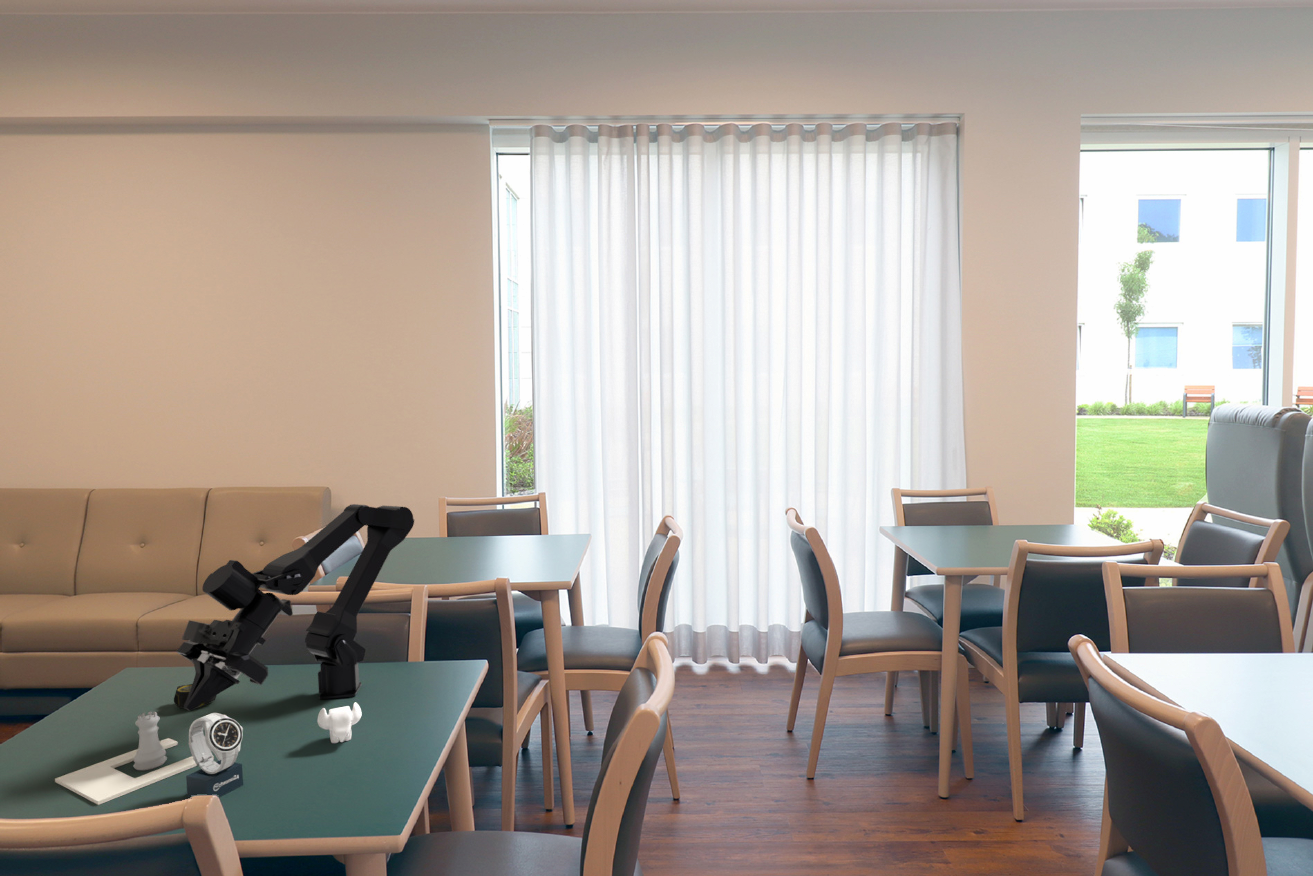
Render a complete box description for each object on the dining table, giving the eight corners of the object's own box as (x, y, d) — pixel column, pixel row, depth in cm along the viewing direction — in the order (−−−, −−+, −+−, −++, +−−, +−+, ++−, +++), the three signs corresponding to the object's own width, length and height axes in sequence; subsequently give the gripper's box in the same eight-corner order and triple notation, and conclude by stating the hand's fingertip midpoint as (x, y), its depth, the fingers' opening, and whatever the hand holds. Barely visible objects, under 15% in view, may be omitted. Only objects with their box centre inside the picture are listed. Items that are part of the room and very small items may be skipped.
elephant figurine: (319, 754, 123) (317, 717, 123) (317, 735, 131) (316, 700, 130) (364, 745, 126) (363, 709, 126) (360, 727, 134) (359, 693, 133)
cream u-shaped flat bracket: (168, 741, 130) (168, 738, 130) (213, 759, 123) (213, 755, 123) (55, 782, 117) (54, 778, 117) (98, 805, 109) (98, 801, 109)
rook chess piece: (143, 759, 124) (140, 710, 123) (173, 757, 124) (170, 708, 124) (126, 772, 119) (123, 721, 119) (157, 770, 120) (154, 719, 119)
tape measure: (218, 696, 151) (217, 677, 151) (214, 708, 145) (213, 688, 145) (178, 703, 148) (176, 683, 148) (171, 715, 142) (170, 695, 142)
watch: (217, 805, 108) (212, 727, 108) (179, 795, 111) (174, 719, 111) (253, 787, 113) (248, 712, 113) (215, 777, 117) (211, 705, 116)
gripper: (185, 594, 135) (118, 676, 126) (246, 605, 125) (178, 696, 116) (233, 627, 142) (172, 707, 133) (294, 641, 132) (233, 729, 123)
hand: (187, 709), depth 126 cm, fingers closed
